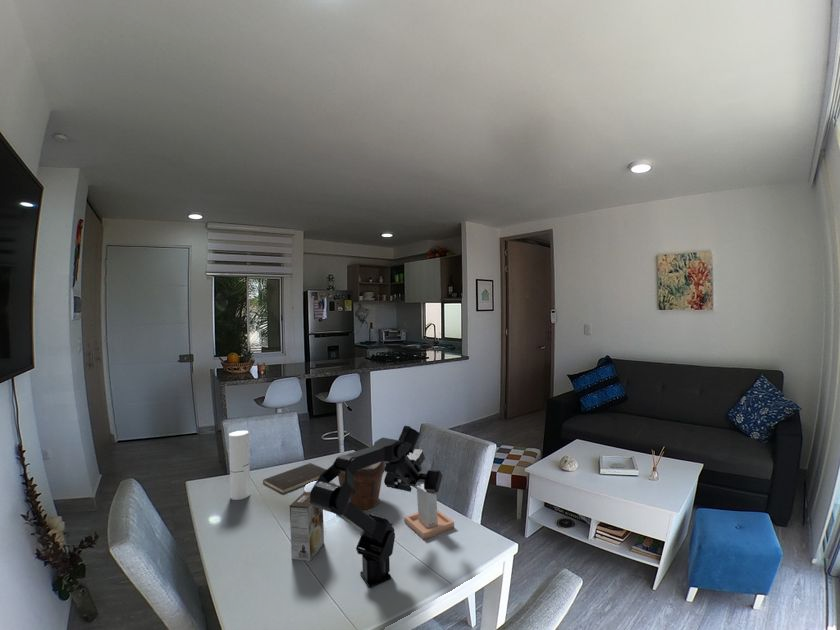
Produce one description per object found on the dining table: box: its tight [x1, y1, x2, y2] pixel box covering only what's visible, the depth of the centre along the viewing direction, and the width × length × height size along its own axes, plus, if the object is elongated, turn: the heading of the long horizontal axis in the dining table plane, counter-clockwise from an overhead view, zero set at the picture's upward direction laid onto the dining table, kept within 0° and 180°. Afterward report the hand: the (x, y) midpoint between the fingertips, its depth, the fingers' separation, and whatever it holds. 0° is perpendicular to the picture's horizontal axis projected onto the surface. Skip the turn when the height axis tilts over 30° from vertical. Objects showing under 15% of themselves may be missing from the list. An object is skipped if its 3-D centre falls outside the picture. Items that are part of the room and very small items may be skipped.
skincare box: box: [416, 483, 438, 528], centre depth 131 cm, size 6×4×12 cm
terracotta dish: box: [404, 509, 455, 540], centre depth 131 cm, size 12×12×2 cm
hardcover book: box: [262, 462, 327, 494], centre depth 171 cm, size 16×23×2 cm
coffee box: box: [289, 491, 325, 562], centre depth 118 cm, size 9×6×16 cm
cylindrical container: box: [228, 430, 251, 501], centre depth 156 cm, size 7×7×25 cm
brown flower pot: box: [337, 461, 386, 511], centre depth 148 cm, size 18×20×18 cm
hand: (423, 491), depth 127 cm, fingers open, 9 cm apart
